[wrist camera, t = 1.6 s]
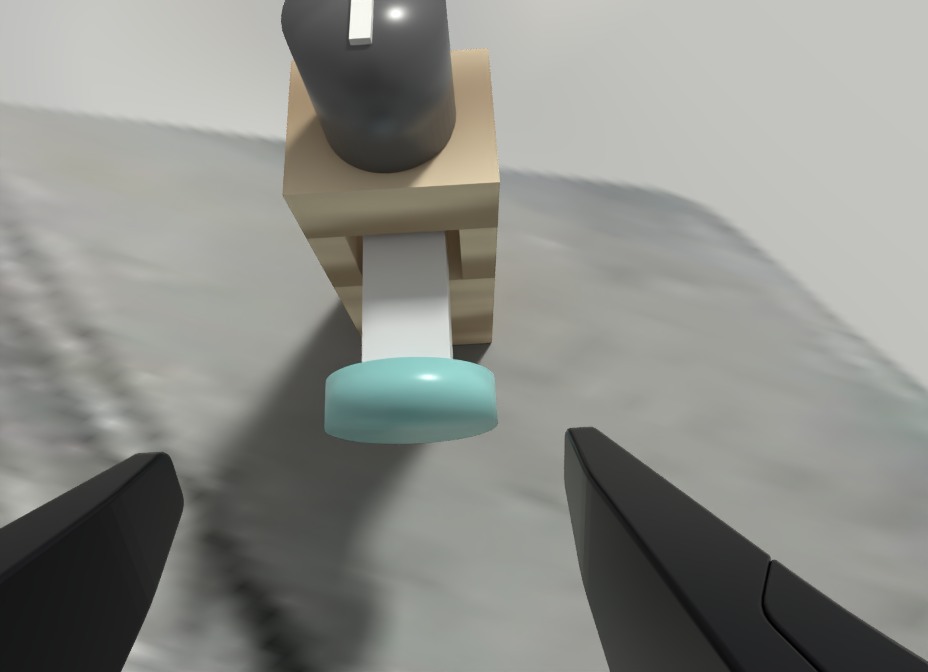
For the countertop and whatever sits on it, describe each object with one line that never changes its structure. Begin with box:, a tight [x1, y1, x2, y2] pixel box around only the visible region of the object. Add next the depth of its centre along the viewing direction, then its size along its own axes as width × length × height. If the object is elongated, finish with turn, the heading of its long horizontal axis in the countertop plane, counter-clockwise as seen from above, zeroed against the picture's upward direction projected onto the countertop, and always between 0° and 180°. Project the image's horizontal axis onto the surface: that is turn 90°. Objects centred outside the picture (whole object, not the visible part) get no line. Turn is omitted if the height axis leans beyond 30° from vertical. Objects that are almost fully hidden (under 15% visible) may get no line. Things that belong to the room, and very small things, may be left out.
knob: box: [324, 231, 498, 444], centre depth 16 cm, size 6×4×4 cm
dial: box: [281, 0, 456, 173], centre depth 13 cm, size 3×3×3 cm
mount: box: [283, 48, 500, 345], centre depth 19 cm, size 4×5×11 cm
